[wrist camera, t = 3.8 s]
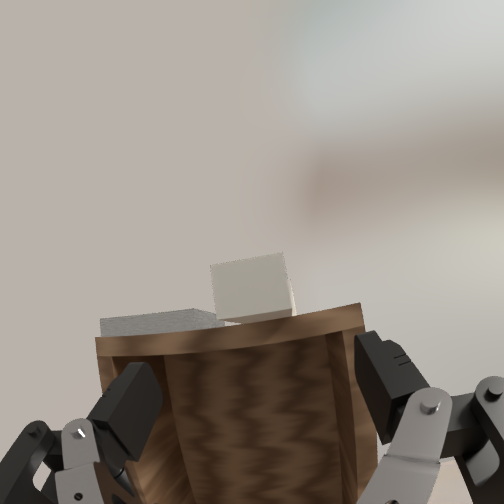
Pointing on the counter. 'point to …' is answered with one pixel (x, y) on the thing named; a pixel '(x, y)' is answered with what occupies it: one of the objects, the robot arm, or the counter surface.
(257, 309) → the plug
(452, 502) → the counter surface
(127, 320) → the socket block
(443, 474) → the counter surface
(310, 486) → the walnut shelf
